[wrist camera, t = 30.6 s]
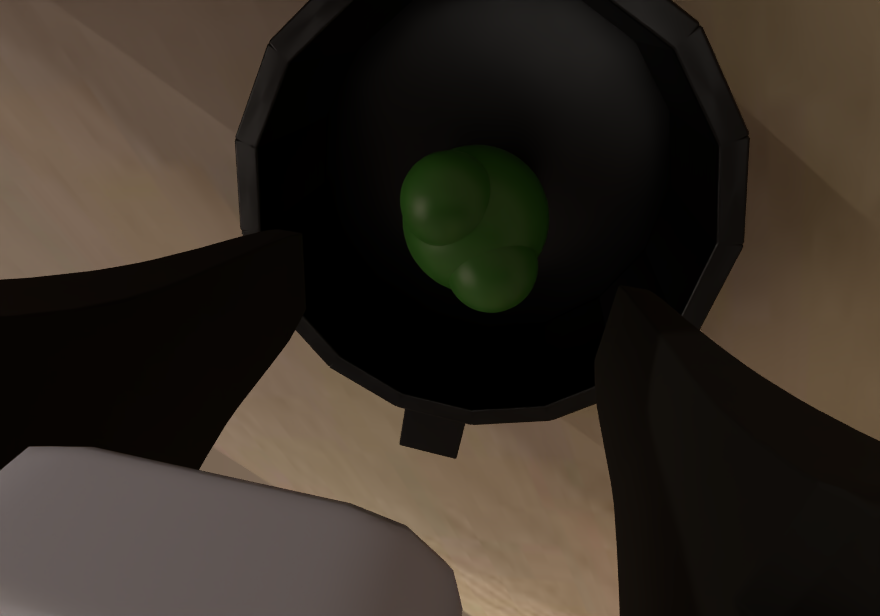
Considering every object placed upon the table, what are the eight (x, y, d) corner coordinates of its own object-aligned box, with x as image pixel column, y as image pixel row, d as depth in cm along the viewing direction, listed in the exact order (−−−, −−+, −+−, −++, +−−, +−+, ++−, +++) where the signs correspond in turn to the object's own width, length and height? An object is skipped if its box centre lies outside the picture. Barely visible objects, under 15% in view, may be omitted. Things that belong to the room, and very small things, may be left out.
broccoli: (472, 264, 21) (447, 355, 15) (401, 158, 19) (343, 216, 14) (572, 211, 19) (586, 292, 13) (504, 87, 17) (487, 121, 12)
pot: (310, 340, 25) (251, 422, 20) (321, -191, 15) (205, -301, 10) (591, 407, 24) (605, 510, 19) (814, -114, 14) (974, -191, 9)
